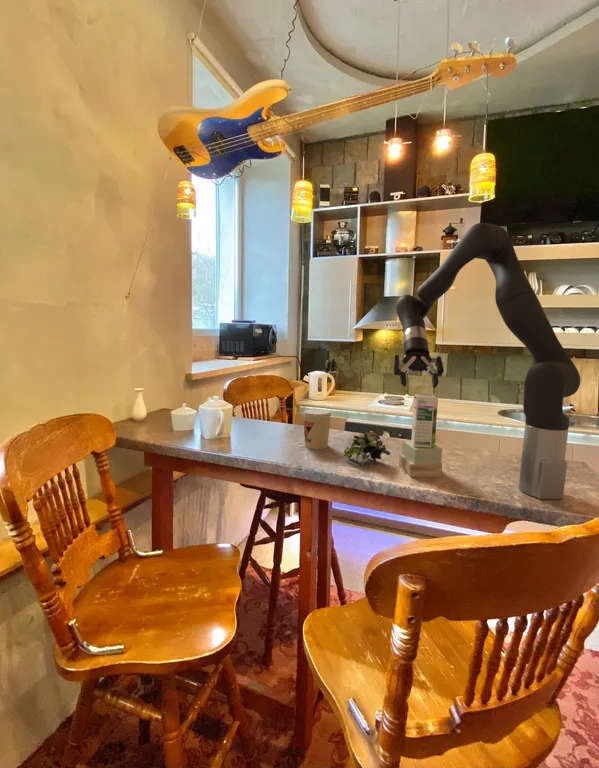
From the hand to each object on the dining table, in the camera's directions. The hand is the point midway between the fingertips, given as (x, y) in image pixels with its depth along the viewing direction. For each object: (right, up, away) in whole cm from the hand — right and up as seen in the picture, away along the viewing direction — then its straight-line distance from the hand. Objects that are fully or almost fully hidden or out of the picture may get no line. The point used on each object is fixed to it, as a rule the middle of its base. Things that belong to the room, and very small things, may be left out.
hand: (419, 385), depth 118 cm
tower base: (-1, -25, -2) cm, 25 cm away
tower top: (0, -21, -2) cm, 21 cm away
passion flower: (-15, -24, +4) cm, 28 cm away
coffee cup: (-29, -21, +20) cm, 41 cm away
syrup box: (0, -17, -3) cm, 17 cm away
